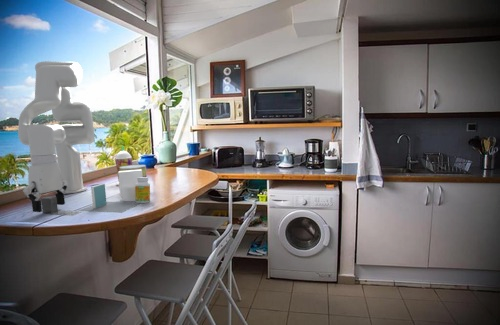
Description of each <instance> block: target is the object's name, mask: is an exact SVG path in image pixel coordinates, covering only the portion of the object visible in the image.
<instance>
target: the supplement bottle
mask: <svg viewBox="0 0 500 325" xmlns="http://www.w3.org/2000/svg"><path fill="white" fill-rule="evenodd" d="M137 180H138V183H136V185H135V200H134V201H135V202H134V203H142V204H147V203H149V202H150V201H151V183H150V182H149V177H148V176H147V177H138V178H137Z"/></svg>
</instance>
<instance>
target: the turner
mask: <svg viewBox="0 0 500 325" xmlns="http://www.w3.org/2000/svg"><path fill="white" fill-rule="evenodd" d="M40 201H41V207H42V211H41V212H42V214H48V215H51V216H72V217H73V216H76V215H79V214H81V213H84V212H85V211H78V210H77V211H76V210H59V209H58V208H59V207H58V205H57V199H56V196H44V197H40Z"/></svg>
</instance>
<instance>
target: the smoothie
mask: <svg viewBox="0 0 500 325" xmlns="http://www.w3.org/2000/svg"><path fill="white" fill-rule="evenodd" d="M114 157H115V158H114V160H115V161H114V162H115V167H116V174H117V180H118V182H119V175H118V172H119V171H120V169H119V167H122V166H128V165H133V156H132V155H131V154H130V153H129V151H126V150H124V145H121V150H120V151H119V152H118V153H117V154H116V156H114Z"/></svg>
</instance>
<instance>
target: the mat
mask: <svg viewBox="0 0 500 325" xmlns="http://www.w3.org/2000/svg"><path fill="white" fill-rule="evenodd" d="M106 202H107V204H106V205H103V206H101V207H98V208H93V204H92V205H90V206H87V207H84V208H82V209H79V210H77V211H84V212H95V213H96V212H97V213H98V212H99V213H121V214H122V213H124V212H126V211H128V210H130V209H132V208H135V207H137V206H139V205H142V204H143V203H136V202H132V201H123V202H122V201H106Z"/></svg>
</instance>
